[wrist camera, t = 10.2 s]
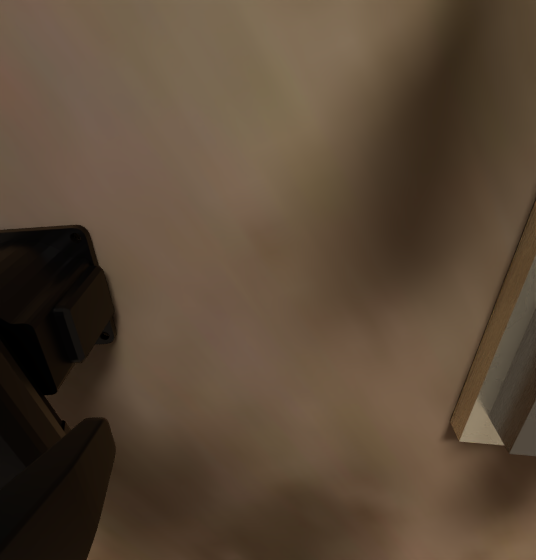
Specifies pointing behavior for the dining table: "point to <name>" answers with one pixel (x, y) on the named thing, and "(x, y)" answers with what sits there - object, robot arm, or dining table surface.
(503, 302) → the white base plate
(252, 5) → the dining table surface
